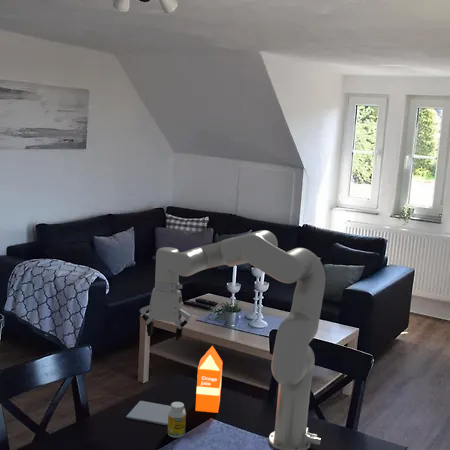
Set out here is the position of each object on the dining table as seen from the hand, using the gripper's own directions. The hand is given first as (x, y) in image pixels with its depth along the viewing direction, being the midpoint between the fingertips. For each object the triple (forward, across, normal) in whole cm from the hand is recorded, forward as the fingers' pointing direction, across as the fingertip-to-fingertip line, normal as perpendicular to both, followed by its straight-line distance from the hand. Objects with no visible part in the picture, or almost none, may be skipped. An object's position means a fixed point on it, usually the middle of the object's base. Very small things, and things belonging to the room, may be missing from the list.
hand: (164, 337), depth 207 cm
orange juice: (+25, -14, -8) cm, 30 cm away
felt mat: (+25, 0, +4) cm, 25 cm away
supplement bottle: (+25, -10, +14) cm, 31 cm away
